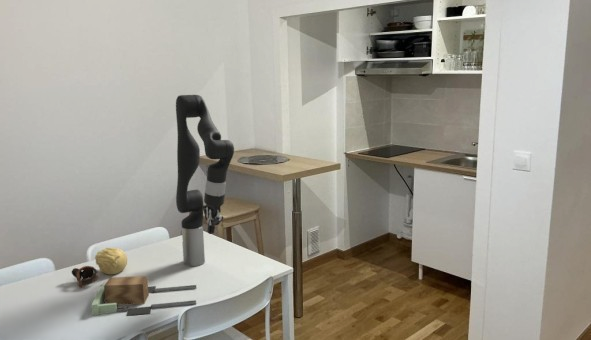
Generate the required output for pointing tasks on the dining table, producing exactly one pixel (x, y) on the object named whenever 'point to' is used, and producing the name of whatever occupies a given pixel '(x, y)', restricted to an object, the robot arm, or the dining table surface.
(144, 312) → the mats
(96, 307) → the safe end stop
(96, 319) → the dining table surface
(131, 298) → the walnut block
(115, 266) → the sculpture
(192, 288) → the lane rails
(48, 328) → the dining table surface
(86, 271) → the pottery mug
